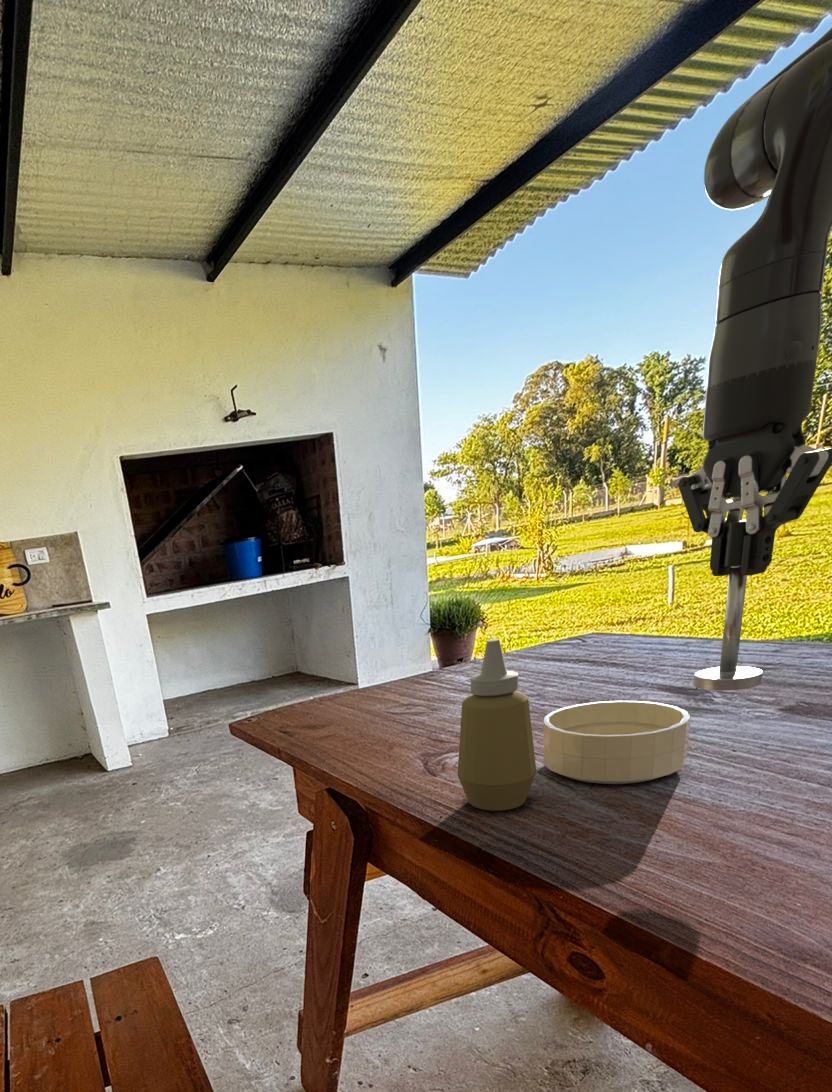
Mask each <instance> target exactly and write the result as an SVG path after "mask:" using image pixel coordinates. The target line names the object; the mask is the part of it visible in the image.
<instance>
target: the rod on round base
mask: <svg viewBox="0 0 832 1092" xmlns="http://www.w3.org/2000/svg"><path fill="white" fill-rule="evenodd" d="M746 535H750V534H748V533H747V531H746V519H742V520H739V521H734V522H730V523H728V528H727V538H726V548H725V558H724V566H730V572H729V575H728V584H727V593H726V603H725V610H724V611H725V613H724V621H723V622H724V623H723V632H722V643H721V650H720V651H721V652H720V662H719V666H716V667H710V668H705V669H701V670H698V671H696V672H695V673H694V674H693V686H694V687H695V688H697V689H701V690H706V691H715V692H716V691H722V692H723V691H725V692H726V691H740V690H741V691H742V690H748V689H752V688H756V687H759V686H760V685H761V684H762V680H763V673H764V672H763V670H762V669H761V668H756V667H752V666H738V661H739V651H740V643H741V633H742V626H743V625H742V624H743V617H744V616H743V615H744V607H745V599H746V591H747V590H746V588H747V581H748V576H743V575H741V573H740V571H741V561H742V552H743V543H744V536H746Z"/></svg>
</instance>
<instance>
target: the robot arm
mask: <svg viewBox="0 0 832 1092" xmlns="http://www.w3.org/2000/svg"><path fill="white" fill-rule="evenodd" d="M703 186H704V190H705V194H706V196H707V198H708V199H709V201H710V202H711V203H712V204H713V205H715V206H716V207H718V208H720V209H723V210H728V211H736V210H741V209H747V208H749V207H751V206H754V205H756V204H758V203H760V202H762V201H764V200H765V199H767V201H766V204H765V206H764V209H763V211H762V212H761V215H760V216H759V218H758V219H757V220H756V222H755V223H754V224H753V225H751V227H750V228H749V229H747V231H746V232H745V233H744V234H742V235H741V236H740V237H739V238H738V239H737V240H736V241H735V242H733V244H732V245H731V246H730V247H729V248H728V250H727V251H726V252H725V254H724V255H723V258H722V261H721V264H720V269H719V274H718V285H717V299H716V302H717V303H716V311H715V312H716V314H715V324H714V325H715V326H714V331H713V337H712V342H711V346H710V350H709V351H710V352H709V355H708V362H707V363H708V366H707V377H706V378H707V379H706V391H705V400H704V402H705V403H704V413H703V416H704V417H703V426H702V439H703V440H704V441H706V442H708V449H707V453H706V455H705V457H704V459H703V462H702V466H701V468H699V469H697V470H696V471H695V472H694V473H693V474H691V475H688V476H683V477H681V478H680V479H679V481H678V483H677V484H678V485H677V487H678V490H679V492H680V495H681V498H682V501H683V504H684V507H685V509H686V513H687V516H688V518H689V521H690V524H691V527H692V530H693V532H694V533H701V532H703V533H705V534H707V535H708V536H709V537H710V538H711V546H710V560H709V566H710V571H711V574H712V576H713V577H725V576H729V572H730V566H724V558H725V548H726V538H727V528H728V523H730V522H734V521H739V520H743V516H744V512H745V520H746V531H747V533H748V534H750V535H746V536H744V543H743V552H742V561H741V571H740V573H741V575H743V576H747V577H748V576H755V575H758V574H763V573H765V572H766V571H767V568H768V567H770V565H771V563H772V560H773V553H774V544H775V538H776V537H775V536H776V532H777V530H778V529H779V528H780V527H781V526H783V525H785V524H787V523H790V522H791V521H796V520H798V519H800V518H801V516H802V515H803V513H804V511H805V510H806V508H807V507H808V505H809V503H810V501H811V500H812V498H813V496H814V495H815V493H816V492H817V490H818V488H819V486H820V484H821V483H822V481H823V479H824V478H825V476H826V474H827V472H828V471H829V469H830V467H831V466H832V447H828V448H824V449H823V448H822V449H817V448H814V447H812V446H809V445H806V437H805V436H806V435H805V434H804V432H803V427H802V426H803V422H804V420H805V419H806V418H807V417H808V416H809V415H810V413H811V409H812V408H811V407H812V400H813V392H814V385H815V378H816V369H817V362H818V355H819V347H820V339H821V332H822V324H823V323H822V315H823V314H822V299H823V298H822V296H823V294H822V292H823V288H824V281H825V273H826V267H827V259H828V248H829V239H830V234H831V231H832V27H831V28H829V29H828V30H827V31H826V32H825V33H824V34H823V35H822V36H821V37H819V39H818V40H817V41H816V42H815V43H813V44H812V45H811V46H809V48H808V49H806V50H805V51H804V52H802V53H801V54H800V55H799V56H798V57H796V58H795V59H794V60H793V61H792V62H790V63H789V64H788V65H786V67H784V68H783V69H782V70H781V71H779V72H778V73H777V74H776V75H774V76H773V78H771V79H770V80H769V81H768V82H766V83H765V84H764V85H762V87H760V88H759V89H758V90H757V91H755V93H754V94H752V95H751V96H750V97H749V98H747V100H745V101H744V102H742V104H741V105H740V106H739V107H738V108H736V110H735V111H733V113H732V114H731V115H730V116H729V117H728V118H727V120H726V121H725V122H724V124H723V125H722V127H721V128H720V129H719V131H718V133H717V134H716V136H715V138H714V140H713V141H712V144H711V147H710V149H709V151H708V154H707V158H706V160H705V164H704V171H703ZM787 474H788V476H787ZM763 493H764V494H765V493H766V494H765V495H761V494H763ZM726 499H728V500H726ZM744 510H745V511H744Z"/></svg>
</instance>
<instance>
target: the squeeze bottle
mask: <svg viewBox="0 0 832 1092" xmlns="http://www.w3.org/2000/svg"><path fill="white" fill-rule="evenodd" d="M469 679H470V695H468V696H467V697H466V698H464V700H462V702H461V715H460V729H459V731H460V732H459V743H458V744H459V747H458V759H457V760H458V762H457V778H458V780H459V782H460V783H459V784H460V785H461V787H462V790H463V792H464V794H465V796H466V799H467V802H468V803H469V804H470V805H471V806H472V807H474V808H477V809H480V810H485V811H492V812H493V811H506V810H507V811H508V810H514V809H516V808H518V807H521V806H523V804H525V802H526V800H527V798H528V795H529V793H530V790H531V787H532V785H533V783H534V780H535V778H536V776H537V764H536V755H535V746H534V736H533V729H532V720H531V711H530V702H529V697H528V695H527V694H525V693H524V692H522V691H519V673H518V672H517V671H513V670H508V668H507V664H506V660H505V656H504V652H503V649H502V644H501V640H500V639H499V638H492V639H487V640H486V645H485V649H484V654H483V659H482V665H481V669H480V673H477V674H474V675H472V676H470V678H469Z"/></svg>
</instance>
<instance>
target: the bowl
mask: <svg viewBox="0 0 832 1092" xmlns="http://www.w3.org/2000/svg"><path fill="white" fill-rule="evenodd" d="M691 718H692V717H691V715H690V714H689V713H688V711H687V710H686V709H683V708H680V707H678V706H675V705H671V704H667V703H661V702H654V701H643V700H607V701H593V702H587V703H579V704H573V705H570V706H564V707H561V708H558V709H556V710H553V711H551V712H550V713H548V714H547V715H546V716H544V717H543V747H542V748H543V751H542V753H543V754H542V755H543V757H542V759H543V765H544V766H545V767H546V768H547V769H548V770H549V771H551V772H553V773H556V774H559V775H561V776H564V777H567V778H568V779H572V780H576V781H580V782H585V783H592V784H603V785H625V784H626V785H627V784H637V783H642V782H643V783H644V782H648V781H653V780H655V779H659V778H662V777H664V776H665V777H666V776H670V775H672V774H674V773H676V772H677V771H679V770H681V769H683V768H684V766H685V765H686V763H687V759H688V751H689V750H688V749H689V738H690V727H691Z"/></svg>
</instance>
